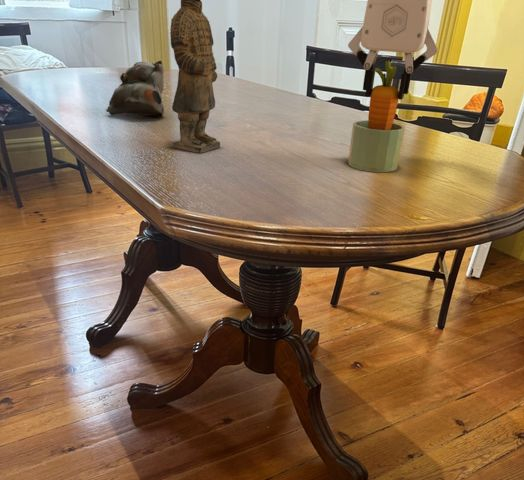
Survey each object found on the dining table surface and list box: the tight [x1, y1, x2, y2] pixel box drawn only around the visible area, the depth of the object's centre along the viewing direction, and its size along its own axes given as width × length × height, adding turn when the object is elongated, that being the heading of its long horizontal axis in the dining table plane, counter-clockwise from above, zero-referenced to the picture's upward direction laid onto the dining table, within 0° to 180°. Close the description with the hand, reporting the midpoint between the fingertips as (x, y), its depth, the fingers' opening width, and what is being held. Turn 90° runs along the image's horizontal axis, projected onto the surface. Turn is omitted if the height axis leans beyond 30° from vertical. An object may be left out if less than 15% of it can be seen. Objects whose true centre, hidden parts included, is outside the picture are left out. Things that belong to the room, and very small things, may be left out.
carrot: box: [367, 60, 399, 130], centre depth 90 cm, size 5×5×15 cm
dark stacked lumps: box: [105, 60, 165, 118], centre depth 122 cm, size 15×12×14 cm
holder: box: [347, 120, 406, 173], centre depth 94 cm, size 9×9×7 cm
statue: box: [169, 0, 221, 154], centre depth 92 cm, size 10×8×30 cm
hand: (384, 95), depth 89 cm, fingers closed on carrot, 4 cm apart
